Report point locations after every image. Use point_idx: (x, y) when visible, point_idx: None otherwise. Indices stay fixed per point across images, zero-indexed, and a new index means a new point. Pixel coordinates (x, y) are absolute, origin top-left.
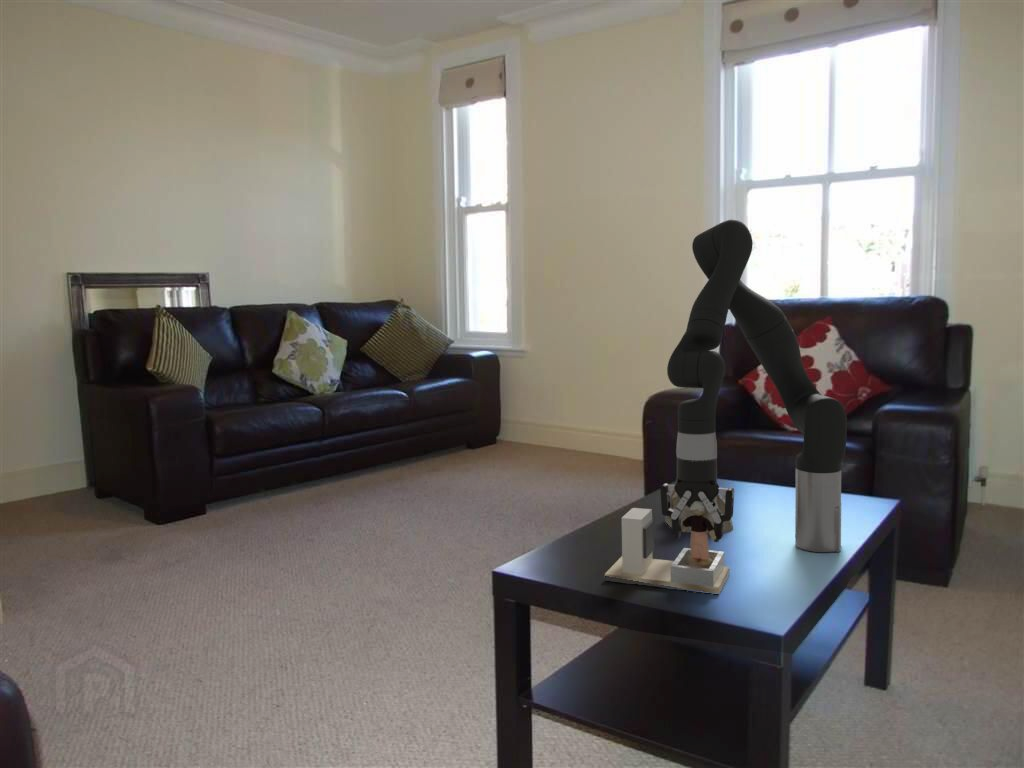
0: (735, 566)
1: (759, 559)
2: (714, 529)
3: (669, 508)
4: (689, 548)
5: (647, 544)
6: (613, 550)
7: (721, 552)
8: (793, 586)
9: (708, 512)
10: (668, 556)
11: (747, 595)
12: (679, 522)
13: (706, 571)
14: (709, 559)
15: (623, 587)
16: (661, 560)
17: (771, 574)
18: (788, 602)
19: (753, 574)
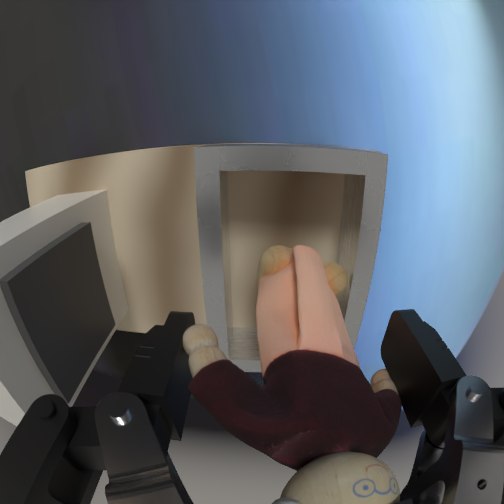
0: (375, 67)
1: (420, 6)
2: (403, 400)
3: (71, 451)
4: (222, 148)
5: (91, 340)
6: (6, 89)
7: (377, 167)
8: (495, 209)
9: None
10: (132, 41)
11: (408, 299)
12: (178, 407)
13: None
14: (337, 293)
15: (118, 334)
16: (126, 160)
17: (466, 128)
18: (468, 304)
19: (430, 135)
